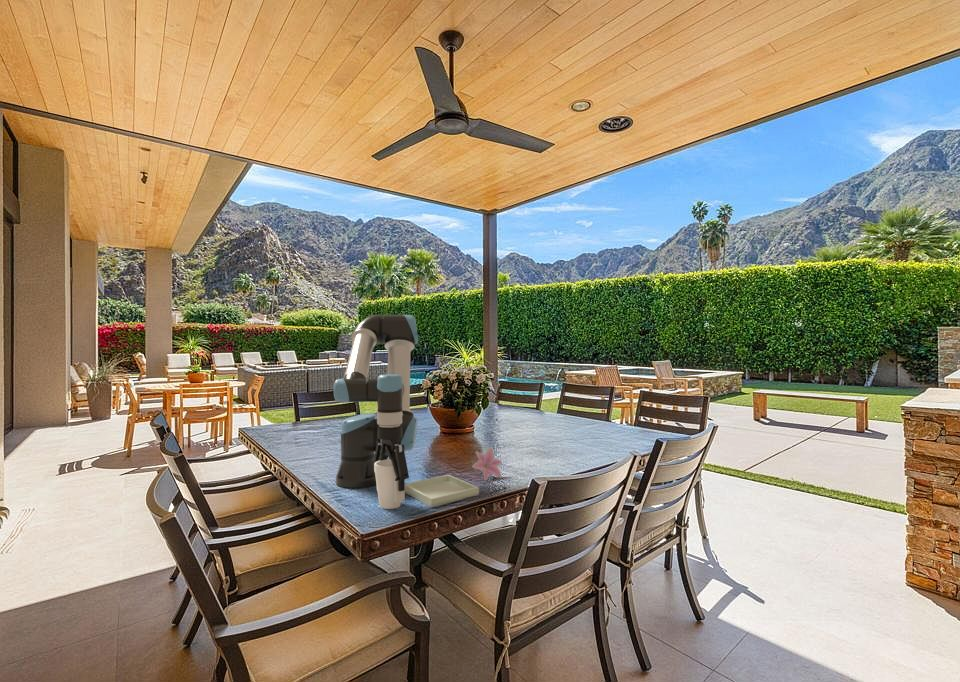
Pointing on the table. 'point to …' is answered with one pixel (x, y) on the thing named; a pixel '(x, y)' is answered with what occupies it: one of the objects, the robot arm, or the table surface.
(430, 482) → the tray
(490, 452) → the lily
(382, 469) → the foam cup
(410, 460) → the table surface
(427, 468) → the table surface
